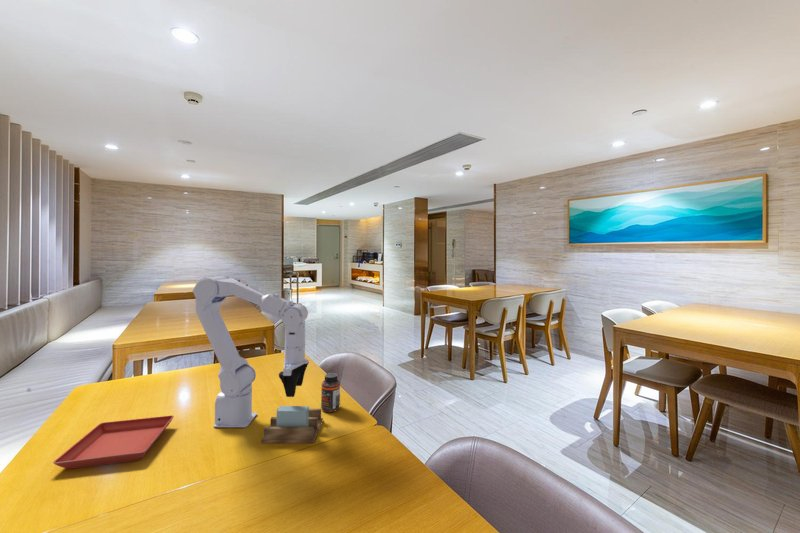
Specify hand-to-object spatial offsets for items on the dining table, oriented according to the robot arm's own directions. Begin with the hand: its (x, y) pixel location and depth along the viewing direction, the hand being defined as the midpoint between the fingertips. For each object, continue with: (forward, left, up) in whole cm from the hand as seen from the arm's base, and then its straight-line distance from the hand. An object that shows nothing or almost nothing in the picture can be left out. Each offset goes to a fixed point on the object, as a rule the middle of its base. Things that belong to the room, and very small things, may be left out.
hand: (294, 390), depth 98 cm
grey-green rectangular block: (+2, -7, -9) cm, 11 cm away
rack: (+1, -4, -10) cm, 11 cm away
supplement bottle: (+9, +9, -10) cm, 16 cm away
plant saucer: (-41, -12, -11) cm, 44 cm away
